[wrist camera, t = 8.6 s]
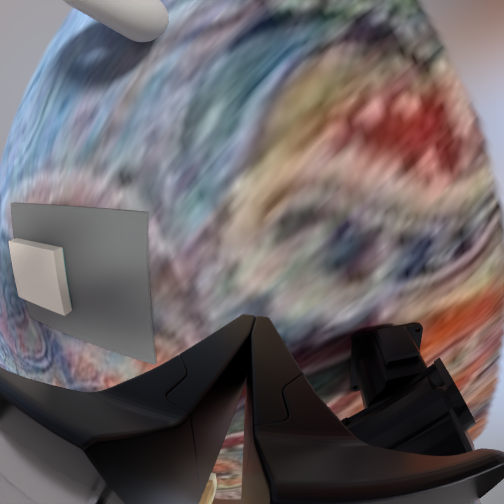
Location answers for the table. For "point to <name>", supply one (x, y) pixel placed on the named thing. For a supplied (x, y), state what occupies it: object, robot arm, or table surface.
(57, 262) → the tile
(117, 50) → the table surface
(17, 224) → the mat
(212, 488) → the skincare box
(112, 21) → the donut
